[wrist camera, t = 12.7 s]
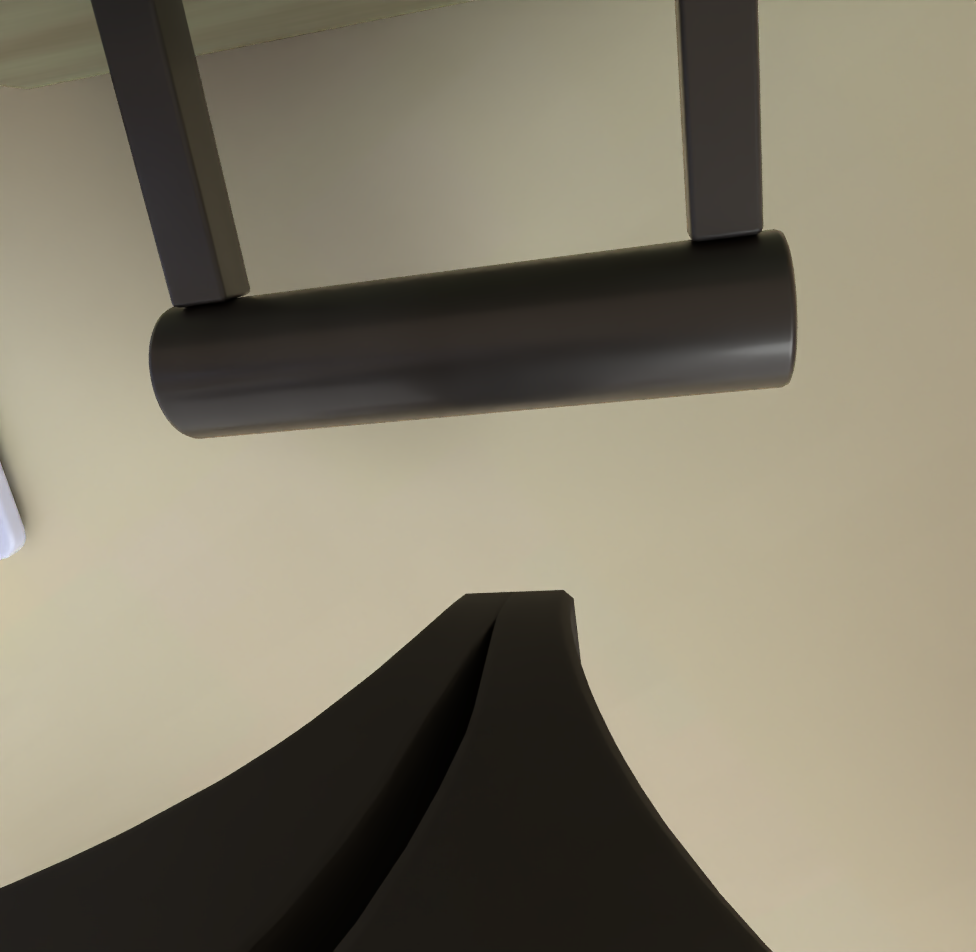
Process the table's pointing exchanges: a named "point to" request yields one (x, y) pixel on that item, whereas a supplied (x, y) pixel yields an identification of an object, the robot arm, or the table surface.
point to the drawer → (434, 296)
